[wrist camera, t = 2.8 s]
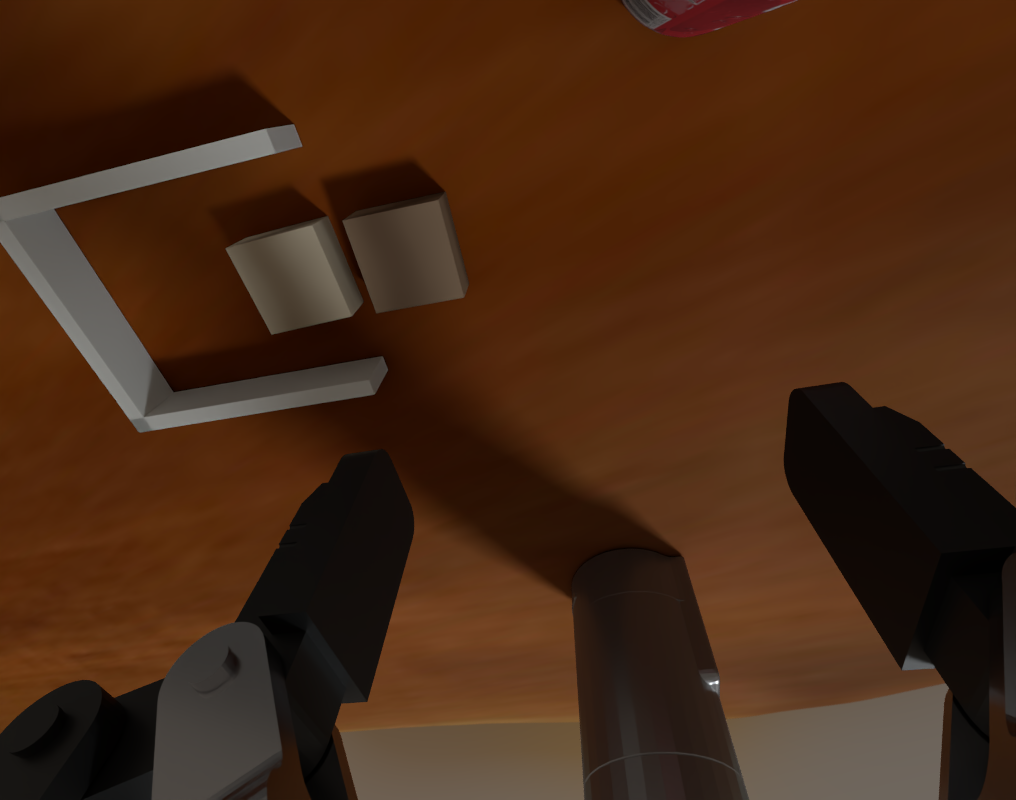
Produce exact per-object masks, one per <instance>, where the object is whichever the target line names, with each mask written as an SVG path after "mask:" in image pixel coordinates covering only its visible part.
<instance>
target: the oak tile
mask: <svg viewBox="0 0 1016 800" xmlns="http://www.w3.org/2000/svg"><path fill="white" fill-rule="evenodd" d="M225 249H226V251H227V252H228V254H229V256H230V258H231V260H232V262H233V264H234V266H235V267H236V269H237V271H238V273H239V275H240V277H241V279H242V280H243V282H244V284H245V286H246V288H247V290H248V292H249V293H250V295H251V297H252V299H253V301H254V303H255V305H256V307H257V308H258V310H259V312H260V314H261V316H262V318H263V320H264V321H265V323H266V325H267V327H268V329H269V331H270V333H271V334H277V333H281V332H285V331H290V330H294V329H299V328H303V327H307V326H312V325H316V324H321V323H325V322H329V321H334V320H338V319H342V318H347V317H351V316H353V314H354V313H355V312H356V311H357V310H358V308H359V307H360V306H361V305H362V303H363V302H364V301H363V299H362V296H361V294H360V291H359V289H358V287H357V284H356V282H355V280H354V277H353V275H352V272H351V270H350V268H349V265H348V263H347V260H346V258H345V256H344V253H343V251H342V249H341V246H340V244H339V241H338V239H337V237H336V234H335V232H334V229H333V227H332V225H331V222H330V220H329V218H328V216H325V217H321V218H318V219H314V220H310V221H306V222H303V223H299V224H295V225H292V226H288V227H284V228H280V229H277V230H273V231H269V232H265V233H262V234H258V235H254V236H250V237H247V238H245V239H243V240H241V241H239V242H237V243H235V244H233V245H231V246H229V247H227V248H225Z"/></svg>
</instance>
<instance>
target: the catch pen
mask: <svg viewBox="0 0 1016 800" xmlns="http://www.w3.org/2000/svg"><path fill="white" fill-rule="evenodd" d="M298 147H302V144H301V141H300V139H299V136H298V133H297V131H296V128H295V126H294V124H292V125H286V126H280V127H273V128H267V129H263V130H259V131H255V132H251V133H247V134H243V135H240V136H236V137H232V138H228V139H224V140H220V141H216V142H213V143H209V144H205V145H201V146H197V147H193V148H189V149H186V150H182V151H178V152H174V153H170V154H166V155H162V156H159V157H155V158H151V159H147V160H143V161H139V162H135V163H132V164H128V165H124V166H120V167H116V168H112V169H108V170H105V171H101V172H97V173H93V174H89V175H85V176H81V177H78V178H74V179H70V180H66V181H62V182H58V183H54V184H51V185H47V186H43V187H39V188H35V189H31V190H27V191H24V192H20V193H16V194H12V195H8V196H4V197H0V242H1V244H2V245H3V247H4V248H5V249H6V251H7V252H8V253H9V255H10V256H11V258H12V259H13V260H14V262H15V263H16V264H17V266H18V267H19V269H20V270H21V271H22V273H23V274H24V275H25V277H26V278H27V279H28V281H29V282H30V284H31V285H32V286H33V288H34V289H35V290H36V292H37V293H38V295H39V296H40V297H41V299H42V300H43V301H44V303H45V304H46V306H47V307H48V308H49V310H50V311H51V312H52V314H53V315H54V316H55V318H56V319H57V321H58V322H59V323H60V325H61V326H62V327H63V329H64V330H65V332H66V333H67V334H68V336H69V337H70V338H71V340H72V341H73V342H74V344H75V345H76V347H77V348H78V349H79V351H80V352H81V353H82V355H83V356H84V358H85V359H86V360H87V362H88V363H89V364H90V366H91V367H92V369H93V370H94V371H95V373H96V374H97V375H98V377H99V378H100V379H101V381H102V382H103V384H104V385H105V386H106V388H107V389H108V390H109V392H110V393H111V395H112V396H113V397H114V399H115V400H116V401H117V403H118V404H119V405H120V407H121V408H122V410H123V411H124V412H125V414H126V415H127V416H128V418H129V419H130V421H131V422H132V423H133V425H134V426H135V427H136V429H137V430H138V432H145V431H152V430H158V429H164V428H170V427H176V426H183V425H189V424H195V423H201V422H208V421H214V420H220V419H226V418H232V417H239V416H245V415H251V414H257V413H263V412H270V411H276V410H282V409H288V408H294V407H301V406H307V405H313V404H319V403H326V402H332V401H338V400H344V399H350V398H357V397H363V396H369V395H375V393H376V392H377V390H378V388H379V386H380V384H381V382H382V380H383V378H384V377H385V375H386V373H387V371H388V368H387V366H386V363H385V361H384V358H383V356H380V357H374V358H369V359H363V360H357V361H351V362H346V363H340V364H334V365H328V366H323V367H317V368H311V369H305V370H300V371H294V372H288V373H282V374H276V375H271V376H265V377H259V378H253V379H248V380H242V381H236V382H230V383H225V384H219V385H213V386H207V387H202V388H196V389H190V390H184V391H178V392H173V391H172V389H171V388H170V386H169V385H168V383H167V382H166V380H165V379H164V377H163V375H162V374H161V372H160V371H159V369H158V368H157V366H156V365H155V363H154V362H153V360H152V359H151V357H150V356H149V354H148V352H147V351H146V349H145V348H144V346H143V345H142V343H141V342H140V340H139V339H138V337H137V336H136V334H135V333H134V331H133V330H132V328H131V326H130V325H129V323H128V322H127V320H126V319H125V317H124V316H123V314H122V313H121V311H120V310H119V308H118V307H117V305H116V303H115V302H114V300H113V299H112V297H111V296H110V294H109V293H108V291H107V290H106V288H105V287H104V285H103V284H102V282H101V281H100V279H99V277H98V276H97V274H96V273H95V271H94V270H93V268H92V267H91V265H90V264H89V262H88V261H87V259H86V258H85V256H84V254H83V253H82V251H81V250H80V248H79V247H78V245H77V244H76V242H75V241H74V239H73V238H72V236H71V235H70V233H69V232H68V230H67V228H66V227H65V225H64V224H63V222H62V221H61V219H60V218H59V216H58V215H57V213H56V212H55V210H54V209H55V208H59V207H63V206H67V205H71V204H75V203H79V202H83V201H87V200H91V199H95V198H99V197H103V196H107V195H111V194H115V193H119V192H123V191H127V190H131V189H135V188H139V187H143V186H147V185H151V184H155V183H159V182H163V181H167V180H171V179H175V178H179V177H183V176H187V175H191V174H195V173H199V172H203V171H207V170H211V169H215V168H219V167H223V166H227V165H231V164H235V163H239V162H243V161H247V160H251V159H255V158H259V157H263V156H267V155H271V154H275V153H279V152H283V151H286V150H290V149H294V148H298Z"/></svg>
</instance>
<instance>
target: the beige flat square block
mask: <svg viewBox="0 0 1016 800" xmlns="http://www.w3.org/2000/svg"><path fill="white" fill-rule="evenodd" d="M342 221H343V224H344V227H345V230H346V232H347V235H348V238H349V240H350V243H351V246H352V249H353V251H354V254H355V257H356V260H357V262H358V265H359V268H360V270H361V273H362V276H363V279H364V281H365V284H366V287H367V289H368V292H369V295H370V298H371V300H372V303H373V306H374V308H375V311H376V313H381V312H387V311H392V310H398V309H403V308H408V307H414V306H419V305H425V304H430V303H436V302H441V301H447V300H452V299H458V298H463V297H464V296H465V294H466V291H467V288H468V285H469V281H468V277H467V273H466V270H465V266H464V262H463V258H462V254H461V250H460V246H459V242H458V238H457V234H456V230H455V226H454V223H453V219H452V215H451V211H450V207H449V203H448V199H447V195H446V192H442V193H437V194H432V195H428V196H423V197H419V198H414V199H409V200H405V201H400V202H395V203H391V204H386V205H382V206H377V207H372V208H368V209H363V210H359V211H355V212H354V213H353V214H351V215H350V216H348V217H347V218H345V219H344V220H342Z"/></svg>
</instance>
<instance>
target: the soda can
mask: <svg viewBox="0 0 1016 800" xmlns="http://www.w3.org/2000/svg"><path fill="white" fill-rule="evenodd" d="M621 1H622V2H623V4H624V6H625V7H626V8H627V10H628V11H629V12H630V13H631V14H632V15H633V16H634V17H635V19H637V20H638V21H639V22H640V23H641V24H643V25H644V26H646V27H648V28H650V29H652V30H653V31H656V32H658V33H660V34H663V35H667V36H673V37H691V36H697V35H701V34H705V33H708V32H711V31H714V30H717V29H720V28H723V27H725V26H728V25H731V24H734V23H737V22H740V21H742V20H745V19H748V18H751V17H754V16H756V15H759V14H762V13H765V12H768V11H770V10H773V9H776V8H778V7H781V6H784V5H787V4H789V3H792V2H795V1H797V0H621Z"/></svg>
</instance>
